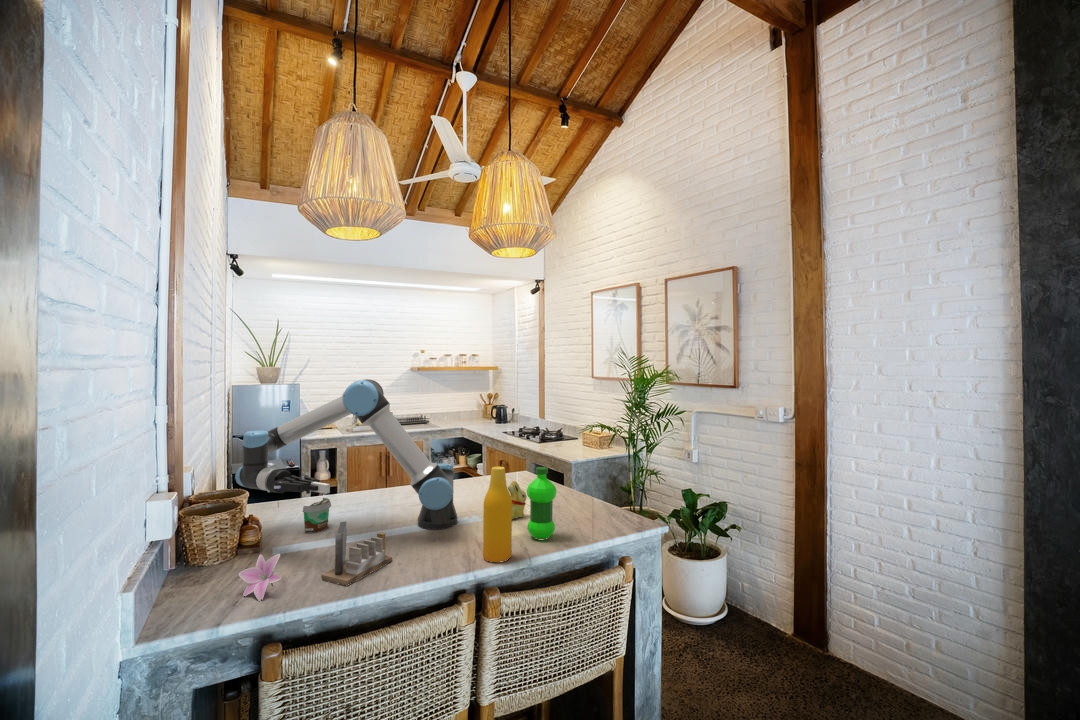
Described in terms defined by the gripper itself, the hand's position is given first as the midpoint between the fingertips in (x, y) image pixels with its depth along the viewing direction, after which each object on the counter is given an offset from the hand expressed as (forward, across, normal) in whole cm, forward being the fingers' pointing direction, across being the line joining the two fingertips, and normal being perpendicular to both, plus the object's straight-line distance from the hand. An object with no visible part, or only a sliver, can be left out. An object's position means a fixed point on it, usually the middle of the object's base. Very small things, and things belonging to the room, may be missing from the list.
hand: (327, 488), depth 159 cm
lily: (+2, +24, -23) cm, 33 cm away
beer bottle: (+48, -24, -22) cm, 58 cm away
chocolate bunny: (+35, -63, -22) cm, 75 cm away
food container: (-24, -20, -23) cm, 39 cm away
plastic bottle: (+54, -47, -22) cm, 75 cm away
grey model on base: (+15, +2, -22) cm, 27 cm away
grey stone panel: (+9, +3, -20) cm, 22 cm away
